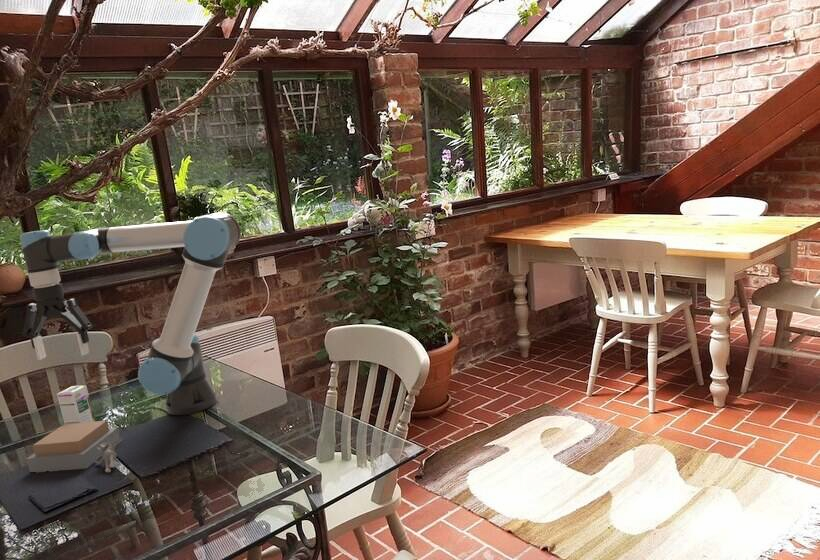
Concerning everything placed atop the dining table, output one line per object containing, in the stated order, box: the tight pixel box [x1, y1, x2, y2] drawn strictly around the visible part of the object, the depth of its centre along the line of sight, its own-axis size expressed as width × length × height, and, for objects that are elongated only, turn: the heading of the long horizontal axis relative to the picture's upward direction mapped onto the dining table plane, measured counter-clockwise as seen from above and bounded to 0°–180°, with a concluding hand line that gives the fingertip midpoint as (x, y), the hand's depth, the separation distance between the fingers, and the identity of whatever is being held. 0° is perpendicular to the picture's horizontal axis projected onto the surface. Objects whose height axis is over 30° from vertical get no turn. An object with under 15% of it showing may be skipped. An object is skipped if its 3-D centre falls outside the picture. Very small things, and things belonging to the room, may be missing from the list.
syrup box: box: [56, 384, 96, 424], centre depth 185 cm, size 6×6×14 cm
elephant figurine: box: [94, 436, 123, 473], centre depth 161 cm, size 10×6×9 cm
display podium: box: [26, 420, 120, 473], centre depth 170 cm, size 16×16×7 cm
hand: (63, 356), depth 181 cm, fingers open, 13 cm apart
